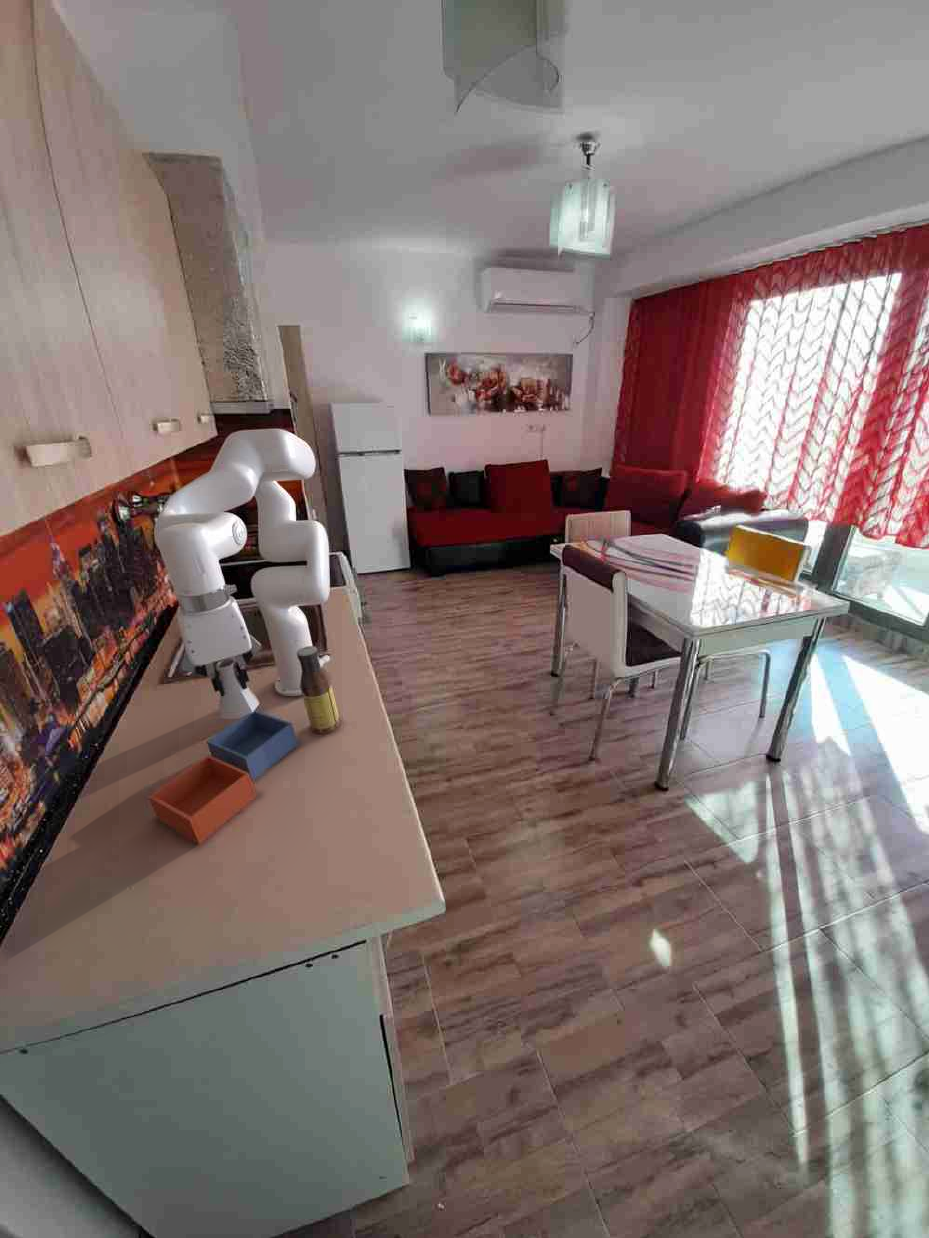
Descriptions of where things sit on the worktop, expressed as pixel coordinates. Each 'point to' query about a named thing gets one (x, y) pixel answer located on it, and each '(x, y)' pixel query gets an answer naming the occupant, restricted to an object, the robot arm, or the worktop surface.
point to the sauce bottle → (317, 692)
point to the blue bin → (254, 742)
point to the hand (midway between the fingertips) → (233, 688)
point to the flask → (234, 693)
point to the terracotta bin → (203, 798)
